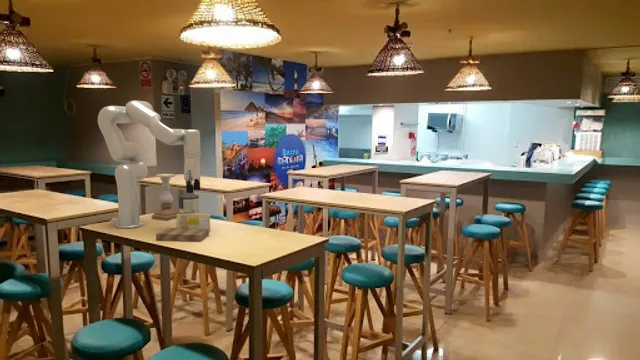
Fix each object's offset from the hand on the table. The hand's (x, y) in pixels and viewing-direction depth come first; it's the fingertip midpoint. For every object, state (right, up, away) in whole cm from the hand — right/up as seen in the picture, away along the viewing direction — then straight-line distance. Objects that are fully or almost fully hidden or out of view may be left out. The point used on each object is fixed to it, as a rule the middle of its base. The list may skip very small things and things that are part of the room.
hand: (193, 191), depth 219 cm
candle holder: (-23, -16, +32) cm, 42 cm away
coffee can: (-8, -17, +22) cm, 29 cm away
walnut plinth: (-1, -21, -12) cm, 24 cm away
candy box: (0, -19, +2) cm, 20 cm away
